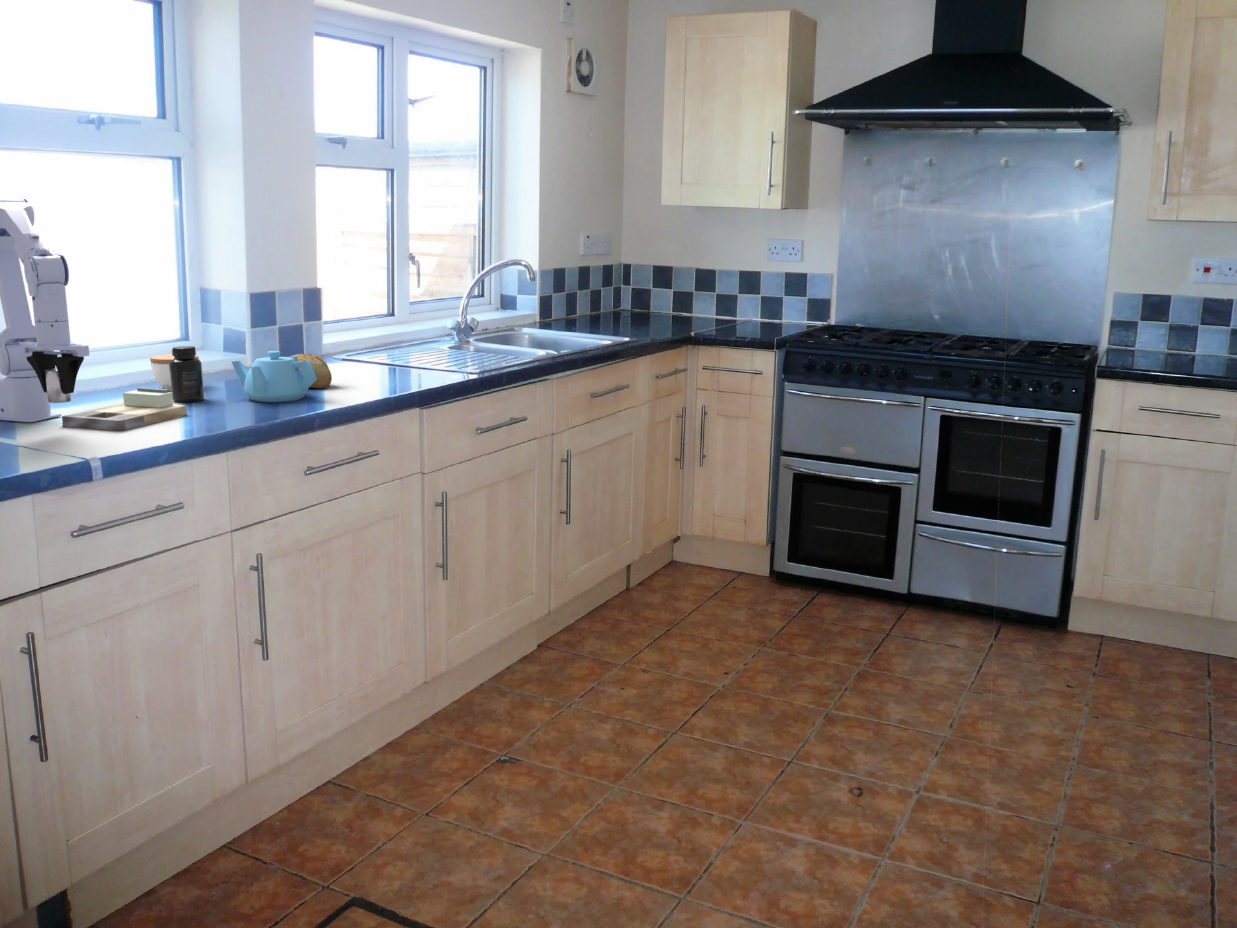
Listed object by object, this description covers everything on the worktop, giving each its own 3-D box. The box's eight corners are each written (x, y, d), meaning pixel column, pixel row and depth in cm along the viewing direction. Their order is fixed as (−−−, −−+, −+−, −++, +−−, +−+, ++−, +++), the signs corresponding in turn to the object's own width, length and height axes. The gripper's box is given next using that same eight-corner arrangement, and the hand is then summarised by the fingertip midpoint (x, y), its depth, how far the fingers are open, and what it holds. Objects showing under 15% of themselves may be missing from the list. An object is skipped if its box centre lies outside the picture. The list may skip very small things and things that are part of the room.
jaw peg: (43, 402, 212) (39, 370, 210) (59, 398, 215) (56, 367, 214) (59, 403, 210) (56, 371, 209) (76, 400, 214) (73, 369, 213)
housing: (62, 426, 220) (61, 416, 220) (132, 410, 238) (131, 401, 237) (120, 431, 216) (119, 420, 215) (187, 414, 233) (186, 405, 233)
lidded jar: (142, 390, 264) (139, 351, 262) (172, 384, 274) (169, 346, 272) (181, 393, 261) (178, 353, 259) (210, 386, 271) (207, 348, 269)
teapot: (251, 406, 245) (248, 357, 242) (232, 396, 257) (229, 349, 255) (320, 400, 253) (317, 352, 251) (298, 391, 265) (295, 346, 263)
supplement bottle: (208, 398, 254) (204, 345, 252) (198, 403, 248) (194, 349, 245) (178, 398, 254) (174, 345, 252) (167, 403, 248) (162, 348, 245)
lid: (124, 405, 232) (122, 389, 231) (138, 402, 236) (136, 387, 235) (159, 407, 229) (158, 392, 228) (173, 404, 233) (171, 389, 232)
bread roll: (287, 382, 279) (285, 350, 277) (341, 385, 275) (339, 353, 273) (265, 388, 270) (263, 355, 268) (320, 391, 266) (319, 358, 264)
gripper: (3, 321, 208) (11, 393, 211) (65, 324, 203) (72, 398, 206) (34, 317, 215) (41, 387, 218) (94, 320, 210) (101, 392, 213)
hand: (58, 392), depth 212 cm, fingers closed on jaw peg, 4 cm apart
